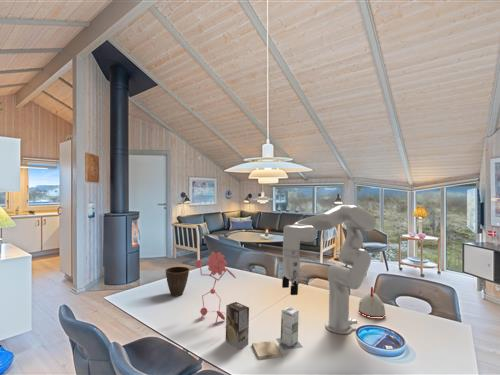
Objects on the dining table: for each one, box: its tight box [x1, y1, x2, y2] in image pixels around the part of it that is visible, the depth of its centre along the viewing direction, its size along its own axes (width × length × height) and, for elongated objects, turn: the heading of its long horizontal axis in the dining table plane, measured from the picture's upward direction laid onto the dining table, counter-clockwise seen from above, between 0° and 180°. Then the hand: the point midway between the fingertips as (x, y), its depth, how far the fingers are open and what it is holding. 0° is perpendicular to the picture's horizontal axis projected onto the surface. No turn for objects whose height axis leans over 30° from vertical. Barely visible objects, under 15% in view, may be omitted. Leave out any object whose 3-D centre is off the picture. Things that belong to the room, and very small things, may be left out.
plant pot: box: [165, 266, 190, 297], centre depth 181 cm, size 15×15×16 cm
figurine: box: [194, 251, 237, 325], centre depth 149 cm, size 15×26×35 cm, turn 64°
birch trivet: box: [251, 340, 283, 360], centre depth 117 cm, size 10×10×1 cm
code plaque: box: [276, 337, 304, 350], centre depth 124 cm, size 9×9×1 cm
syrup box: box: [280, 306, 300, 347], centre depth 125 cm, size 6×6×14 cm
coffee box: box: [225, 301, 250, 350], centre depth 124 cm, size 9×6×16 cm
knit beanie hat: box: [358, 286, 386, 317], centre depth 159 cm, size 14×14×15 cm
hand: (289, 291), depth 125 cm, fingers open, 9 cm apart
